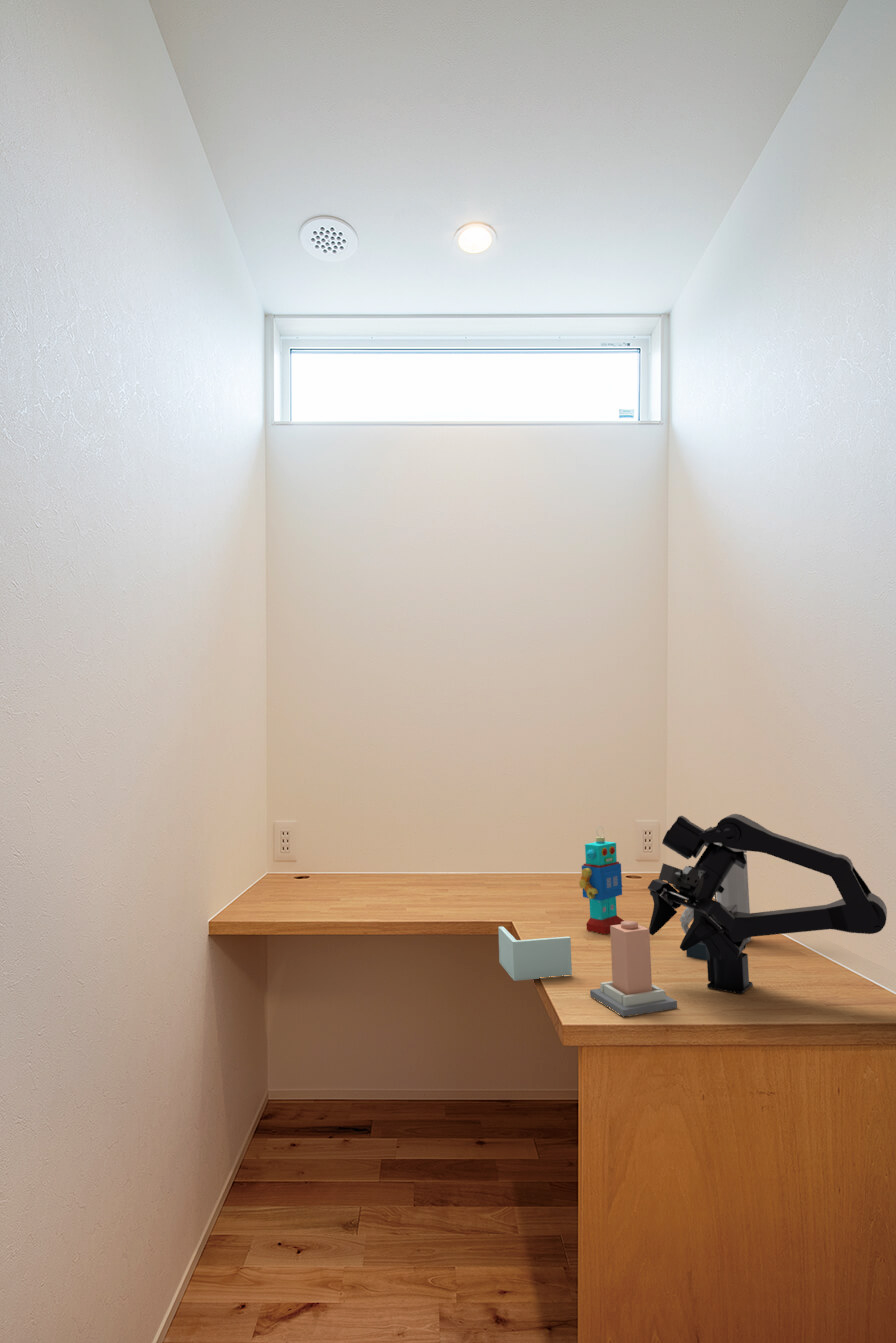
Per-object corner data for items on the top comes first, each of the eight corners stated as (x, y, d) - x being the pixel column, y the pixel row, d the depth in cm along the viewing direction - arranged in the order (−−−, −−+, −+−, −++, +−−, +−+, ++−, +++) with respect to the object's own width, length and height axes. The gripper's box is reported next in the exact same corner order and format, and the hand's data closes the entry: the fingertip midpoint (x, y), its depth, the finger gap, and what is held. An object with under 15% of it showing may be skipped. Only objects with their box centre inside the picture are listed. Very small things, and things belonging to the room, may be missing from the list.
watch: (688, 949, 167) (686, 898, 168) (724, 955, 161) (721, 903, 162) (677, 955, 163) (675, 903, 163) (714, 961, 157) (711, 908, 158)
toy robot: (600, 936, 179) (596, 829, 181) (580, 931, 183) (576, 827, 185) (629, 927, 186) (624, 824, 188) (609, 922, 191) (604, 823, 193)
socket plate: (641, 988, 143) (640, 973, 143) (677, 1008, 132) (676, 992, 132) (590, 996, 139) (589, 981, 139) (623, 1017, 128) (622, 1001, 129)
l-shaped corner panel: (571, 975, 151) (570, 937, 151) (514, 980, 149) (512, 942, 149) (553, 958, 163) (552, 922, 163) (499, 962, 161) (498, 926, 161)
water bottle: (755, 938, 173) (749, 829, 175) (747, 947, 167) (741, 833, 169) (715, 933, 179) (709, 827, 181) (705, 941, 172) (700, 831, 174)
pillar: (636, 989, 139) (633, 918, 140) (652, 997, 134) (649, 924, 135) (612, 992, 137) (609, 921, 138) (628, 1001, 132) (625, 927, 133)
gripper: (652, 838, 150) (609, 902, 146) (717, 858, 133) (670, 931, 129) (686, 871, 153) (645, 935, 149) (755, 894, 136) (710, 968, 132)
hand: (665, 941), depth 140 cm, fingers open, 9 cm apart
